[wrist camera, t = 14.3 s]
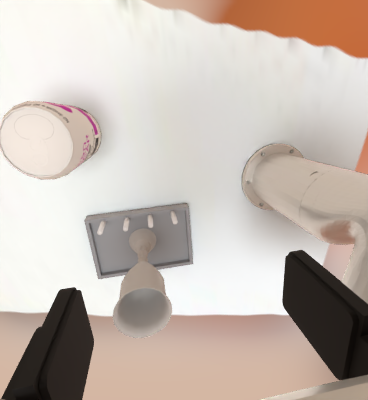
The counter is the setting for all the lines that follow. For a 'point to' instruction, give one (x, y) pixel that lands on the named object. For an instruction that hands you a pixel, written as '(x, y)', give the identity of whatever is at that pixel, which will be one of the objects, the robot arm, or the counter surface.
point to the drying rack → (131, 221)
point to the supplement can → (48, 138)
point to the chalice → (142, 293)
